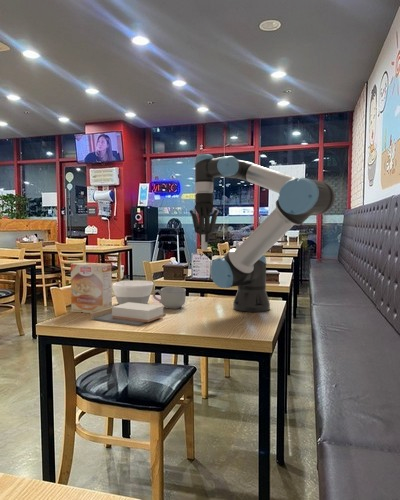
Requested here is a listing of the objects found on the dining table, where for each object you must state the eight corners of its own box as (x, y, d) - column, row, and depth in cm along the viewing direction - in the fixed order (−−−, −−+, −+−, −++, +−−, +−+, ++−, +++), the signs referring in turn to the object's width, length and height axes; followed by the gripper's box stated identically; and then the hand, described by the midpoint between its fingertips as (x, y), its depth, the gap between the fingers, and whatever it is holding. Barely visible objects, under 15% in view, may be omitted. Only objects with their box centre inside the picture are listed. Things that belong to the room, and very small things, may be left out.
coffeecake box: (70, 311, 161) (69, 263, 159) (81, 308, 167) (80, 262, 166) (102, 314, 156) (101, 264, 154) (112, 311, 162) (111, 263, 161)
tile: (163, 305, 150) (128, 302, 157) (148, 310, 141) (112, 306, 148) (163, 316, 150) (128, 312, 157) (148, 322, 141) (112, 317, 148)
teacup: (187, 305, 174) (187, 286, 174) (184, 310, 163) (184, 291, 163) (156, 304, 176) (155, 286, 175) (150, 309, 165) (150, 290, 164)
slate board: (165, 315, 154) (165, 309, 154) (138, 325, 138) (138, 319, 138) (121, 310, 164) (121, 304, 163) (90, 319, 147) (90, 313, 147)
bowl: (106, 307, 169) (106, 285, 168) (120, 300, 187) (120, 280, 186) (147, 308, 167) (147, 286, 166) (157, 300, 184) (157, 280, 184)
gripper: (222, 193, 165) (222, 250, 167) (194, 194, 171) (194, 249, 172) (215, 191, 159) (214, 251, 160) (186, 193, 164) (186, 250, 166)
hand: (204, 250), depth 166 cm, fingers closed
